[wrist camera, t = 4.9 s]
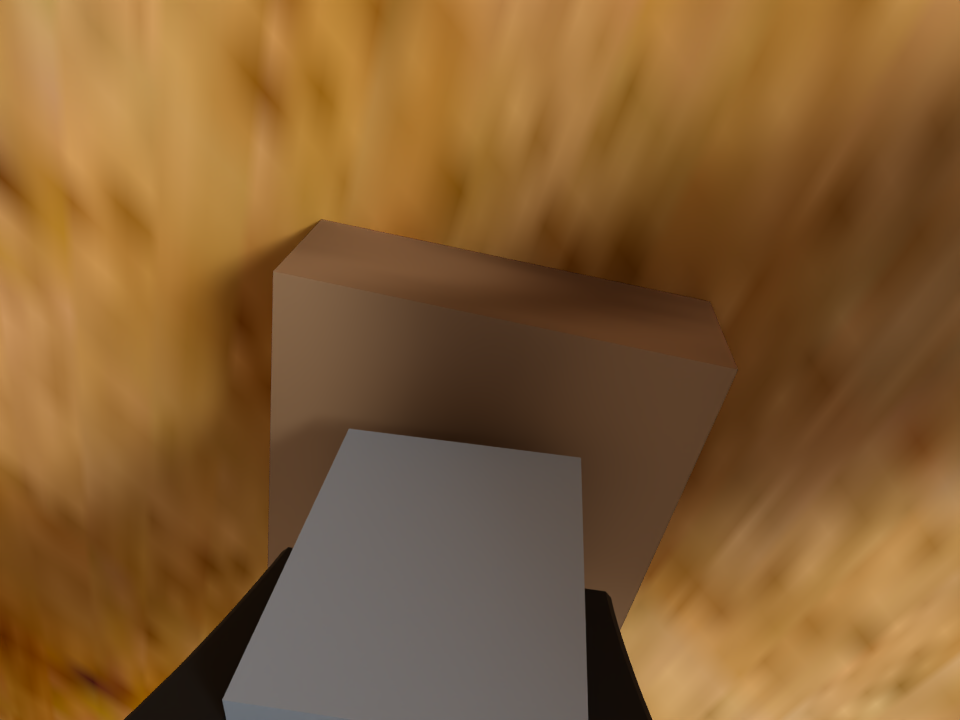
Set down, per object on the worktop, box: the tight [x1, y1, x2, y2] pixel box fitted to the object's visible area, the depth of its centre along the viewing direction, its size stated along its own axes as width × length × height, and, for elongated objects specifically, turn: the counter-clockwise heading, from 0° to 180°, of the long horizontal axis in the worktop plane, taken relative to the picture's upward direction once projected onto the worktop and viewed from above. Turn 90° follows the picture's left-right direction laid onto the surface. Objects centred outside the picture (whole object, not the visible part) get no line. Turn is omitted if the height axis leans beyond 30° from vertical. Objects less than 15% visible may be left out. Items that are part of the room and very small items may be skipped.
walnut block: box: [268, 219, 738, 629], centre depth 15 cm, size 8×8×3 cm
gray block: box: [222, 429, 588, 720], centre depth 10 cm, size 4×4×5 cm
